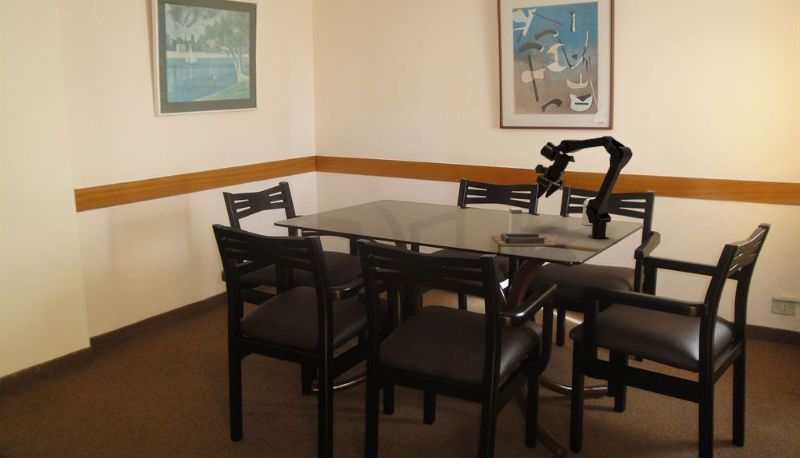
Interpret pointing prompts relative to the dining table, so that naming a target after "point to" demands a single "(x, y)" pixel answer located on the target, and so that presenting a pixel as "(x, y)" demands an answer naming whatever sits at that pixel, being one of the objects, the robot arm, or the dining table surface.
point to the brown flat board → (523, 240)
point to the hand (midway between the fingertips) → (541, 197)
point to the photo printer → (585, 217)
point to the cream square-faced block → (515, 220)
